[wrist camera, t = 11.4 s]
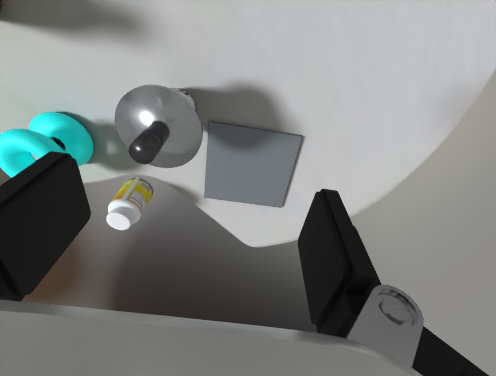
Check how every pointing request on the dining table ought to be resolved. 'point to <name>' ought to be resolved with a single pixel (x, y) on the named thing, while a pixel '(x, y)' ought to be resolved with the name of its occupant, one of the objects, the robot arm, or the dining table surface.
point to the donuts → (44, 142)
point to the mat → (249, 164)
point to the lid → (158, 126)
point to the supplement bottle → (129, 203)
